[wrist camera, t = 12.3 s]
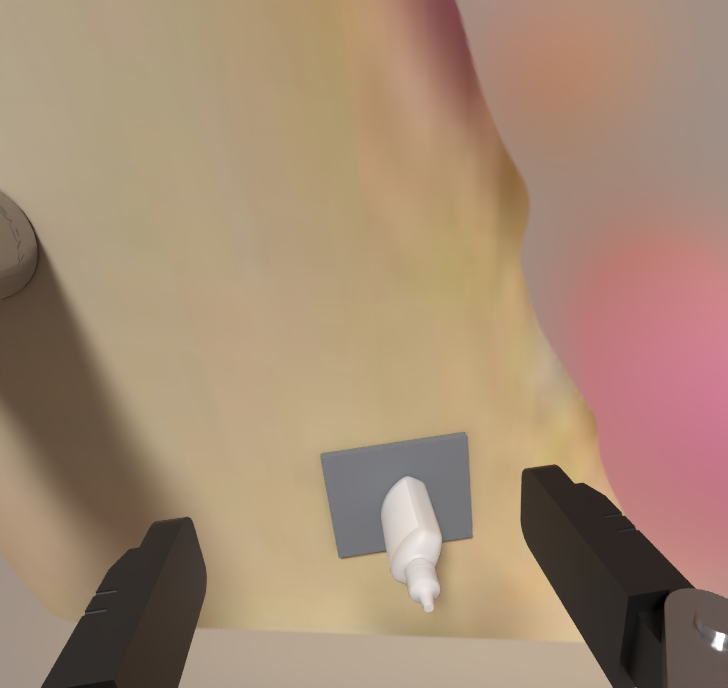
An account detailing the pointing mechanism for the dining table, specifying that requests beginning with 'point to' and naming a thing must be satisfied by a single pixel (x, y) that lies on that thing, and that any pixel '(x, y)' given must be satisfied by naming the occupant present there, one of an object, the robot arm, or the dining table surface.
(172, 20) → the dining table surface
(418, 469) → the slate mat
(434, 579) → the eye dropper bottle
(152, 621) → the robot arm
